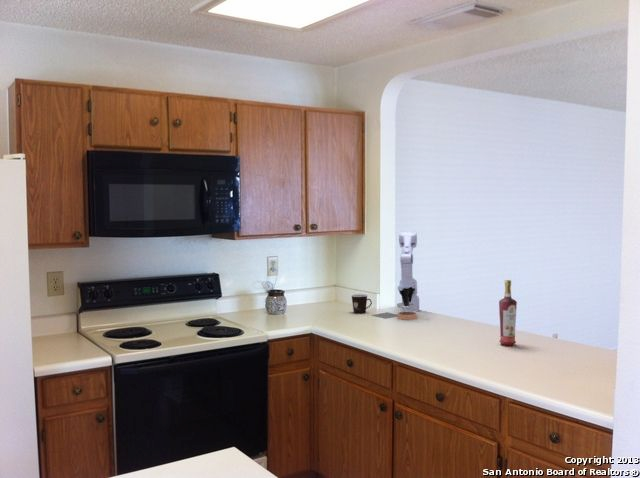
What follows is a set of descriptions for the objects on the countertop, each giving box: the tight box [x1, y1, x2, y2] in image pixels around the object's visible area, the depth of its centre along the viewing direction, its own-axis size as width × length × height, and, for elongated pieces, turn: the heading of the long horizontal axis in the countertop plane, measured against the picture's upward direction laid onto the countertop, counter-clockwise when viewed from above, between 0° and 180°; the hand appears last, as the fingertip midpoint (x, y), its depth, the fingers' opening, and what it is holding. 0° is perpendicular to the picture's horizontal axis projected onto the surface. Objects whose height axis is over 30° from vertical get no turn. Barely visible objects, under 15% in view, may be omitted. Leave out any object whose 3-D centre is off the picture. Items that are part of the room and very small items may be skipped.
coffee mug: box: [351, 293, 373, 315], centre depth 343 cm, size 12×9×10 cm
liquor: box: [498, 279, 518, 347], centre depth 270 cm, size 7×7×28 cm
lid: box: [396, 296, 416, 309], centre depth 327 cm, size 10×10×5 cm
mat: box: [370, 311, 397, 320], centre depth 335 cm, size 12×12×1 cm
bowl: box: [396, 311, 418, 321], centre depth 327 cm, size 10×10×3 cm
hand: (407, 302), depth 327 cm, fingers closed on lid, 3 cm apart
